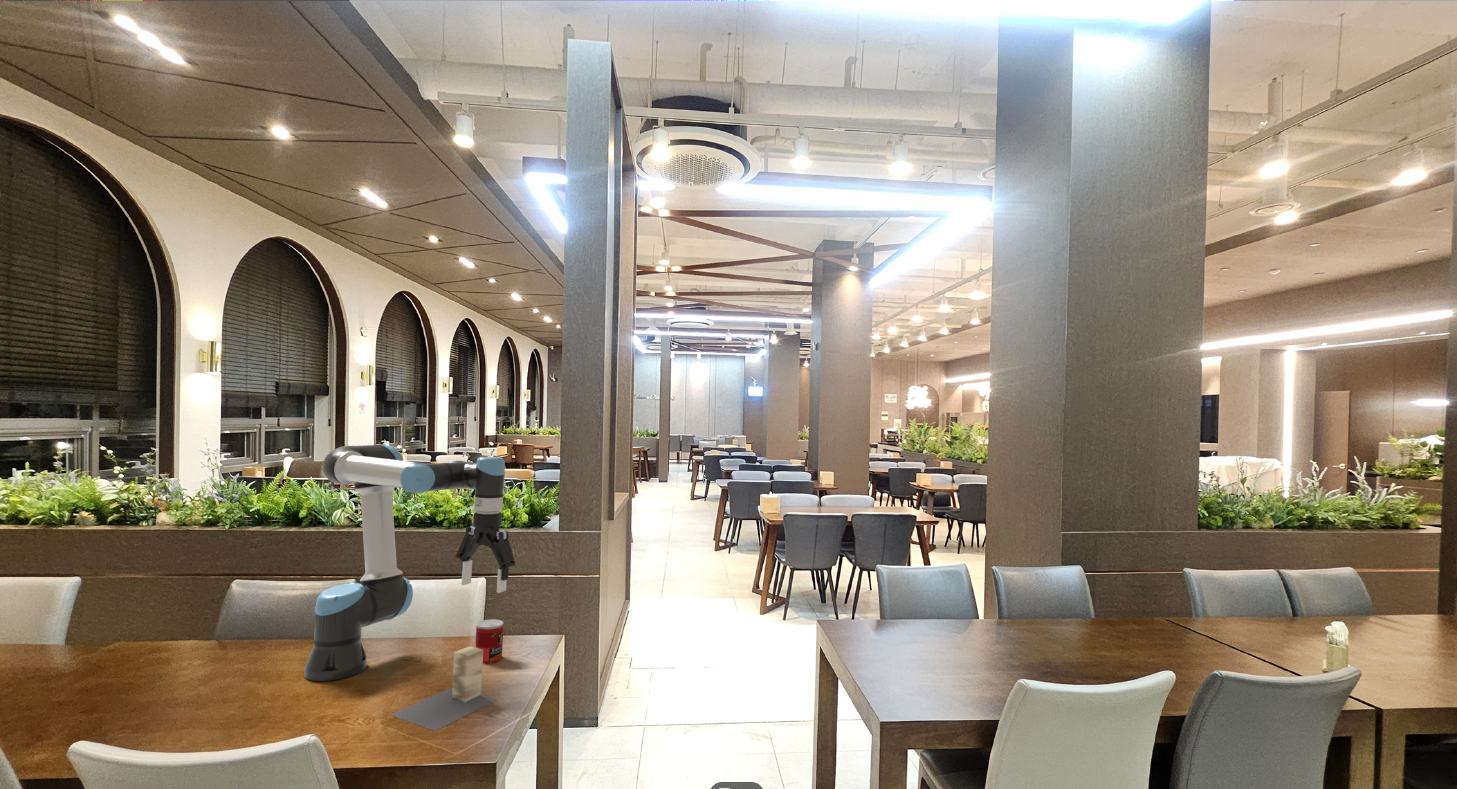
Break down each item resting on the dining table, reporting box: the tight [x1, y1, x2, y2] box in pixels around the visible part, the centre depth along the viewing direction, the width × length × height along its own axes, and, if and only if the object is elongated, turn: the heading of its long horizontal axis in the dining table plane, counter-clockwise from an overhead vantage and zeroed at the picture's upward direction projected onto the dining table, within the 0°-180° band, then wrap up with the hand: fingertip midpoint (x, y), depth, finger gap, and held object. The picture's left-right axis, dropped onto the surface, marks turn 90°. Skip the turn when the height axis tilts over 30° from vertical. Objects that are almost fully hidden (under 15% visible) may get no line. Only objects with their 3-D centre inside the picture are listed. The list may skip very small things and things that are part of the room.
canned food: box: [474, 618, 504, 664], centre depth 190 cm, size 8×8×11 cm
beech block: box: [451, 645, 484, 703], centre depth 164 cm, size 5×5×12 cm
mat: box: [390, 687, 498, 732], centre depth 157 cm, size 16×19×1 cm
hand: (483, 587), depth 175 cm, fingers open, 13 cm apart
